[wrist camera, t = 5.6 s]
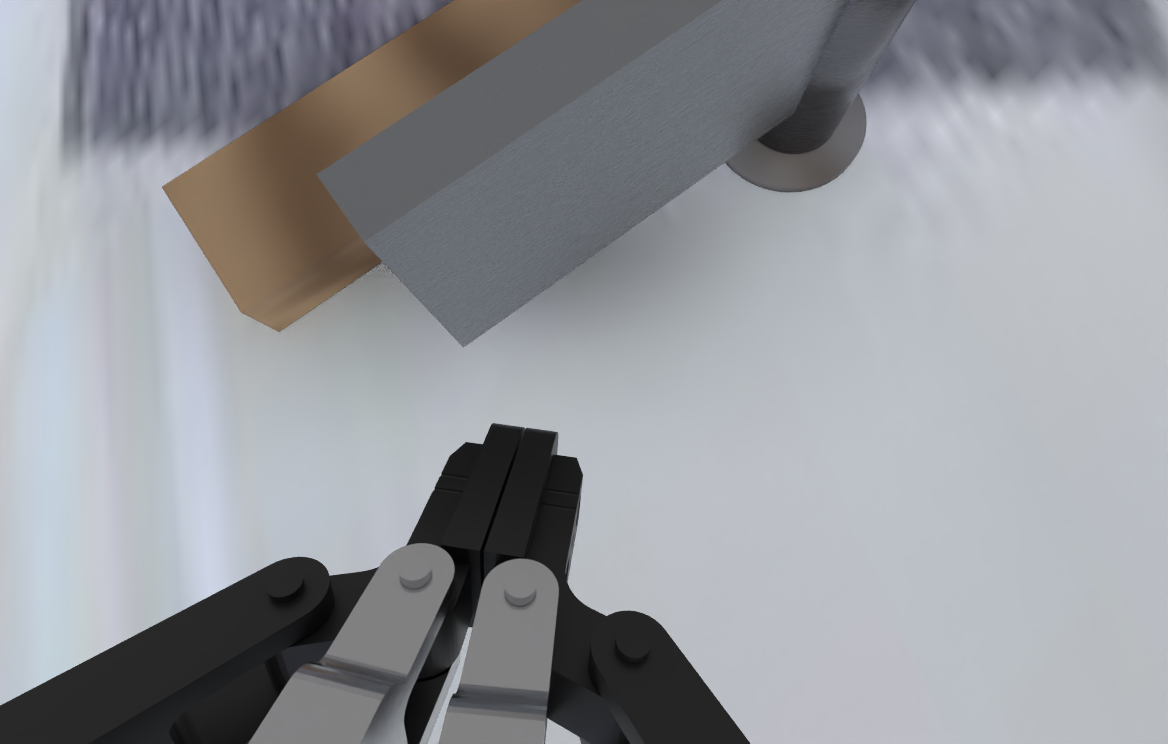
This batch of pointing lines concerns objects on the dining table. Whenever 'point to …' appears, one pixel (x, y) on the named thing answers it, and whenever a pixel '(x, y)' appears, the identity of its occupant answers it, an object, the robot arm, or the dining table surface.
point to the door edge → (355, 115)
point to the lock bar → (595, 137)
